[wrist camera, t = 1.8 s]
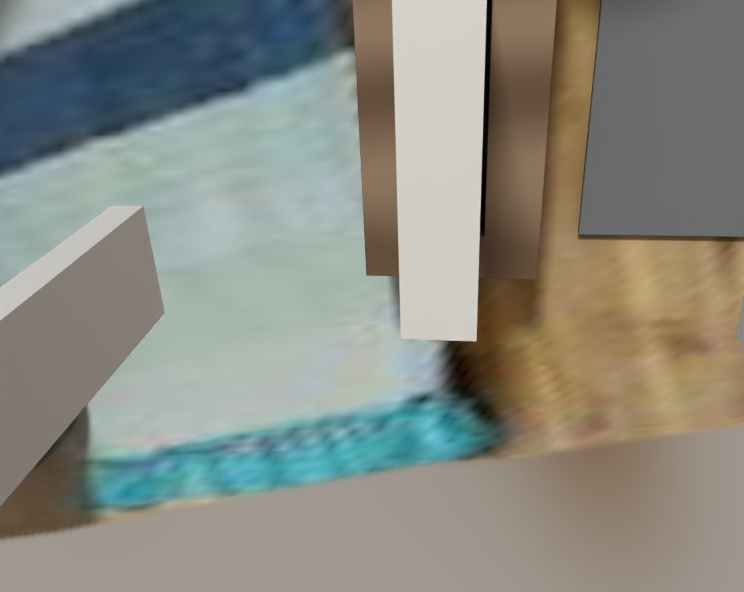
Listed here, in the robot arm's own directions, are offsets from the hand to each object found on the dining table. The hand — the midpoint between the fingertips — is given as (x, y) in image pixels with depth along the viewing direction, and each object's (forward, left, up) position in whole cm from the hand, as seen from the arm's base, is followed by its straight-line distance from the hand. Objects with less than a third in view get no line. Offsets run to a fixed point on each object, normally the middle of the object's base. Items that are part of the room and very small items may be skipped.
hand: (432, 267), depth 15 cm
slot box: (0, 0, -22) cm, 22 cm away
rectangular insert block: (0, 0, -21) cm, 21 cm away
